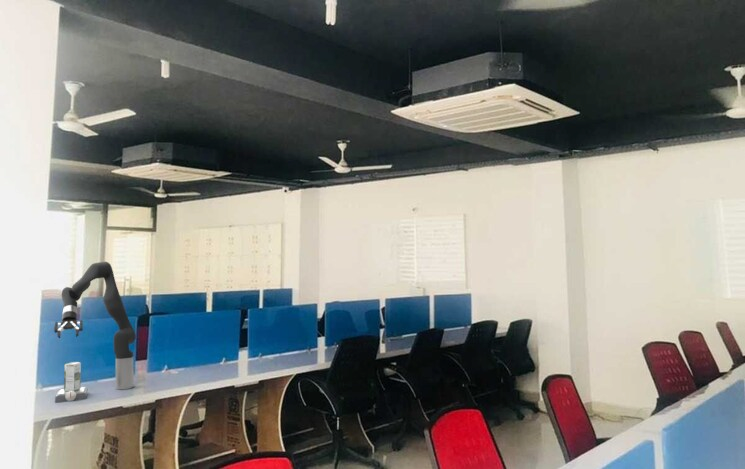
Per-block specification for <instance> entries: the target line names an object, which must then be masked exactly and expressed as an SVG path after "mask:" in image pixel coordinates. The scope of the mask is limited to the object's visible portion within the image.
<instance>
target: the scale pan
mask: <svg viewBox="0 0 745 469" xmlns="http://www.w3.org/2000/svg"><path fill="white" fill-rule="evenodd" d="M85 388H86V386H80V389H78V390H76V391H74V392H75V393H76V394H78V393H84V391H85ZM58 391H59V393H58V396H60V395H66V393H67V392H69V391H64V388H61V389H59V390H58Z"/></svg>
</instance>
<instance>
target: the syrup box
mask: <svg viewBox="0 0 745 469" xmlns="http://www.w3.org/2000/svg"><path fill="white" fill-rule="evenodd" d="M81 367H82V363H81V362H79V361H71V362H69V363H65V364H64V368H63V369H64V374H63V375H64V376H63V389H64V391H76V390H78V389H80V387H81V379H82V378H81V377H82V376H81V375H82V374H81V372H82V371H81V370H82V368H81Z"/></svg>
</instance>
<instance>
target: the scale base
mask: <svg viewBox="0 0 745 469" xmlns="http://www.w3.org/2000/svg"><path fill="white" fill-rule="evenodd" d="M59 391H60V390H58V391H57V392H56V395H55V399H54V400H55V401H54V402H55V403H63V402H72V401H81V400H86V399H87V397H86V396H88V387H85V391H84V393H78V394H76V393H75V392H74V391H69V392H67V393H66V395H60V396H58V393H59Z"/></svg>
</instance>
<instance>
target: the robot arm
mask: <svg viewBox="0 0 745 469" xmlns="http://www.w3.org/2000/svg"><path fill="white" fill-rule="evenodd" d="M102 278H103V279H104V282H105V291H104V295H103V304H104V307H105V309H106V310H105V311H106V312H107V313H108V315H109V316H110V317H111V319H113V320H114V321H115V323H116V325H117V326H118V329H119V330H117V331H115V334H114V335H113V353H114V356H115V390H127V389H129V390H130V389H131V388H134V386H135V384H134V383H135V378H134V377H135V376H134V375H135V374H134V373H135V372H134V371H135V370H134V352H133V350H132V351H131V350H130V345H132V344H134V342H135V341H136V338H137V337H136V336H137V335H136V333H135V330H134V328H133V326H132V324H131V321H130V319H129V317H128V314H127V312H126V311H127V310H126V308H125V306H124V303H123V300H122V297H121V295H120V292H119V289H118V287H117V286H118V285H117V282H116V278H115V275H114V270H113V267H112V265H111V264H110V262H109V261H100V262H94V263H92V264H91V265H90V266H89V267H88V268H87V269H86V270H85V272H84V274H83V275H82V276H81V278H79V279H78V280H77V281H76V282H75V283H74V284H72V286H71V287H69V286H65V287H64V288H63V289H62V291H61V295H60V296H61V299H62V302H63V303H62V304H63V310H62V317H61V322H58V321H55V322H54V323H55V324H54V328H53V330H54V333H55V334H57V335H56V336H57V338H58V339H60V338H61V333H62V332H64V330H66V331H67V330H74V331H75V337H76V338H78V336H80V332H83V331H84V328H83V323H84V322H83V320H80V321H78V320H77V319H78V301H79V300H80V299H81V297H82V294H83V293H84V292H85V291H87V290H88V289H89V288H90V286H91V282H92V281H94V280H96V279H102ZM77 325H78V326H79V327H78V326H77Z"/></svg>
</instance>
